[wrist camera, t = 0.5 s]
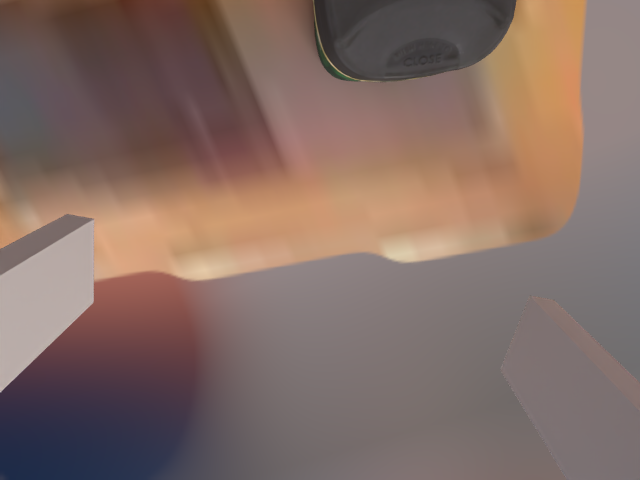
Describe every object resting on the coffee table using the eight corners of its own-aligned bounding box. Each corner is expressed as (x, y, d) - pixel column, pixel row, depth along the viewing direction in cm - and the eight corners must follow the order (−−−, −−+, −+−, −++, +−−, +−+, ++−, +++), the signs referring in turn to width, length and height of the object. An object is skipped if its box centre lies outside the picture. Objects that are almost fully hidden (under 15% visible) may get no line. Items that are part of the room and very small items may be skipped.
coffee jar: (321, 89, 37) (319, 93, 20) (309, -16, 35) (295, -118, 17) (434, 74, 37) (536, 65, 19) (431, -34, 34) (545, -156, 17)
